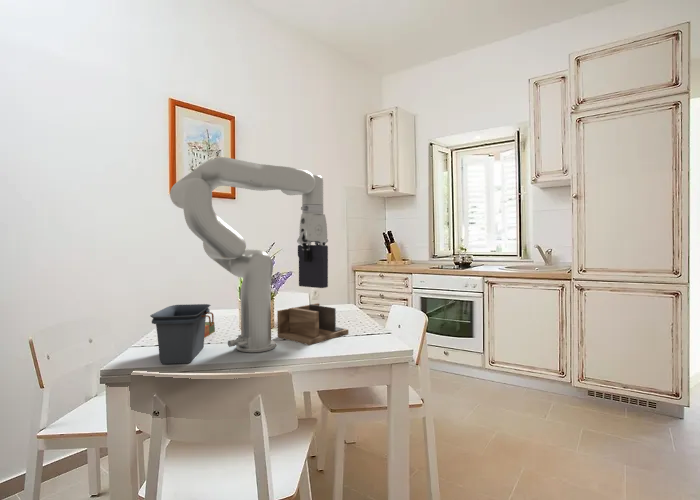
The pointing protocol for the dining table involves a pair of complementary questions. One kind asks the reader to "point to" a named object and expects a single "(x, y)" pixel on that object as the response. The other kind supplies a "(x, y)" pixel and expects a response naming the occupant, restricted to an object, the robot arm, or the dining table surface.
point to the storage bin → (181, 331)
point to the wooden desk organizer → (308, 324)
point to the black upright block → (314, 267)
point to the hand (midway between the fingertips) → (313, 260)
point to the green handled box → (209, 329)
